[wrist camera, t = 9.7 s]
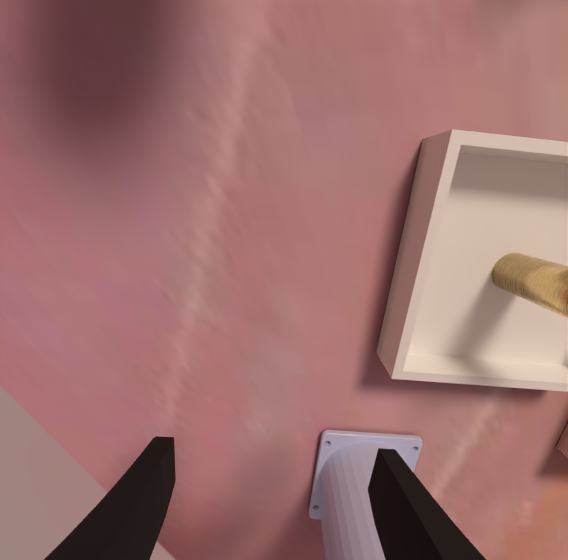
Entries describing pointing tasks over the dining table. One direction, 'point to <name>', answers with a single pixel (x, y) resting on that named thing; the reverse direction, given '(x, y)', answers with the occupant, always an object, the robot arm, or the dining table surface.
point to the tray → (478, 264)
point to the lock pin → (534, 281)
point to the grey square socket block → (564, 442)
